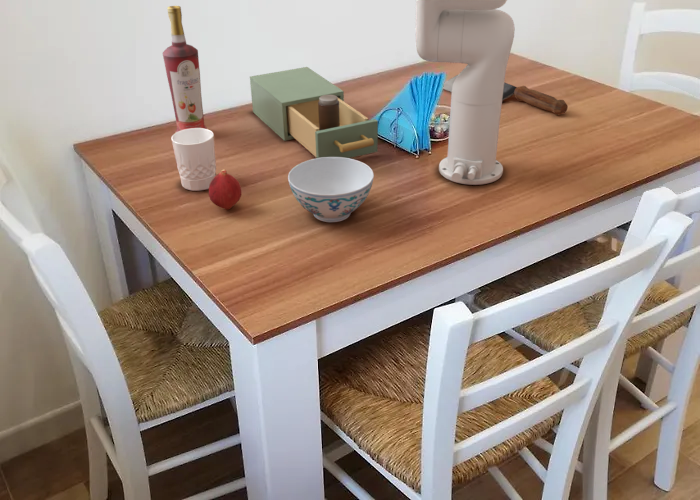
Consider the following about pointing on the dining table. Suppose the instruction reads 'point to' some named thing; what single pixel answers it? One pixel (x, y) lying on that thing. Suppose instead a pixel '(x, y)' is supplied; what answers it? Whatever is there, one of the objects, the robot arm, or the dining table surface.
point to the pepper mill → (328, 112)
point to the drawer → (332, 131)
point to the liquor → (183, 76)
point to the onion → (224, 190)
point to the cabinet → (287, 95)
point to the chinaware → (331, 186)
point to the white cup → (195, 157)
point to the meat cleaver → (526, 97)
